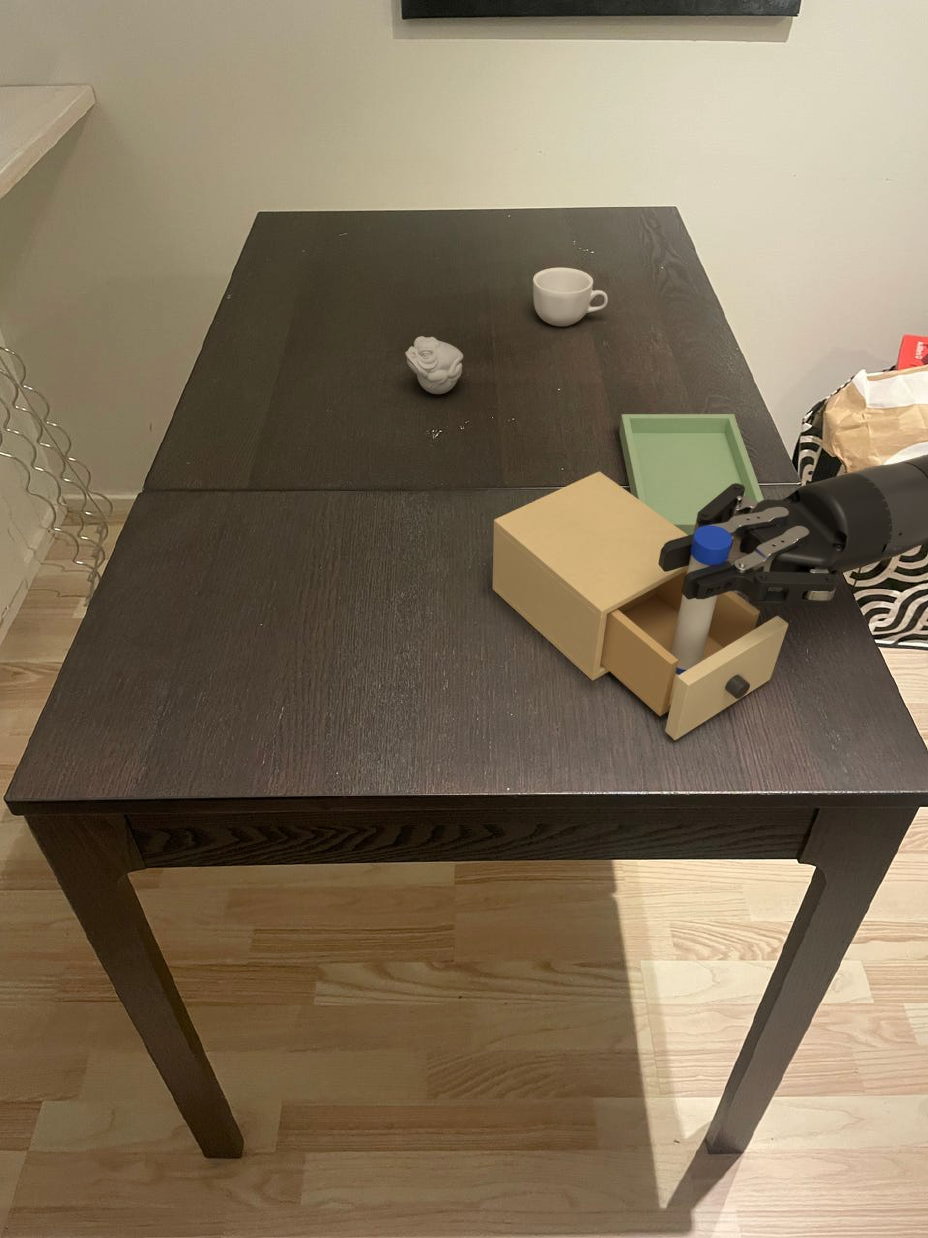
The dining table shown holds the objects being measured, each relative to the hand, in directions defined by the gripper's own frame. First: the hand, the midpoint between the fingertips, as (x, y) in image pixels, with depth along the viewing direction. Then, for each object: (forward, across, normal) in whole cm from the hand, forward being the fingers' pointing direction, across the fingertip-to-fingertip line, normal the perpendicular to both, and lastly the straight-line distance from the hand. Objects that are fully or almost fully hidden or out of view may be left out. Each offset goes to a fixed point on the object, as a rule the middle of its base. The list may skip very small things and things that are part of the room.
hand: (674, 573), depth 72 cm
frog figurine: (0, -52, +14) cm, 53 cm away
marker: (-3, 0, +11) cm, 12 cm away
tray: (-18, -24, +13) cm, 33 cm away
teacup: (-23, -62, +14) cm, 67 cm away
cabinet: (0, -11, +13) cm, 17 cm away
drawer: (-3, -1, +12) cm, 13 cm away
